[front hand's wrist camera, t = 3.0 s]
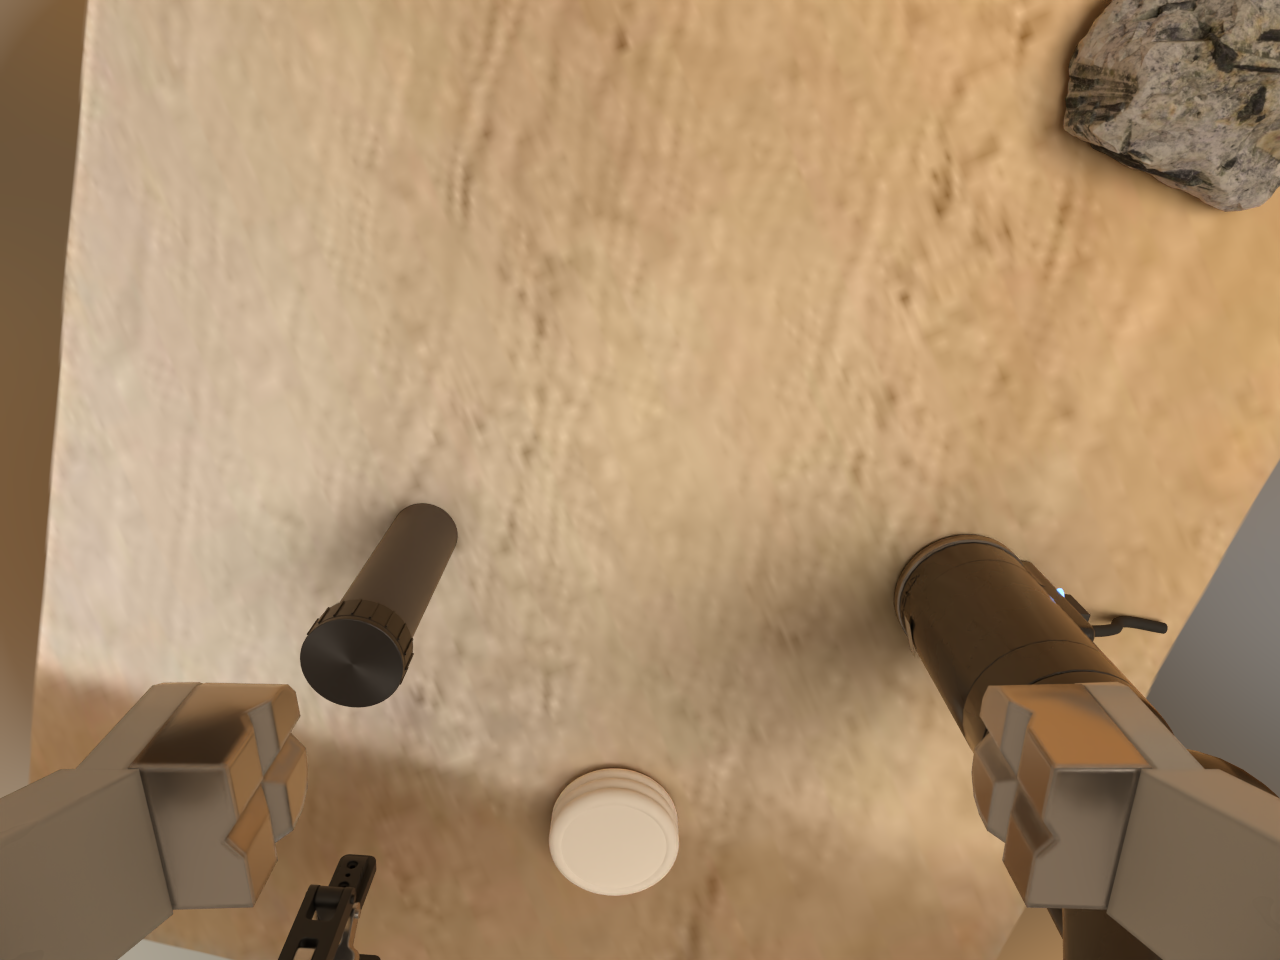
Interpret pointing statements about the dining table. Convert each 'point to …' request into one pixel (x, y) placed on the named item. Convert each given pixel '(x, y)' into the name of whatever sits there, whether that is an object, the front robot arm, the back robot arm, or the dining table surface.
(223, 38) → the dining table surface
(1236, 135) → the rock
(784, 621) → the dining table surface
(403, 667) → the lid
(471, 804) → the dining table surface
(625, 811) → the cream short cylinder
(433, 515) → the brown cylindrical canister
